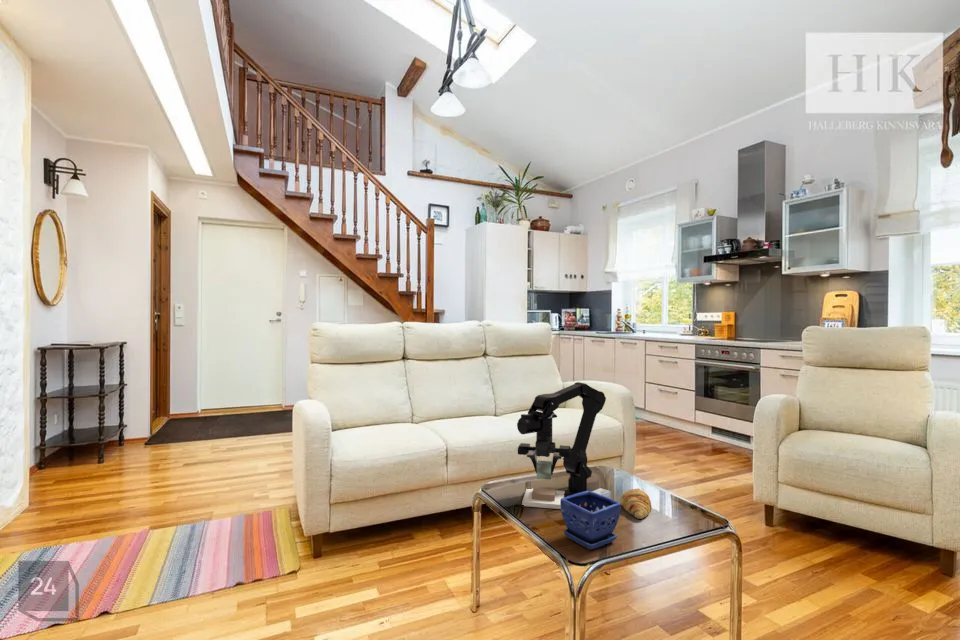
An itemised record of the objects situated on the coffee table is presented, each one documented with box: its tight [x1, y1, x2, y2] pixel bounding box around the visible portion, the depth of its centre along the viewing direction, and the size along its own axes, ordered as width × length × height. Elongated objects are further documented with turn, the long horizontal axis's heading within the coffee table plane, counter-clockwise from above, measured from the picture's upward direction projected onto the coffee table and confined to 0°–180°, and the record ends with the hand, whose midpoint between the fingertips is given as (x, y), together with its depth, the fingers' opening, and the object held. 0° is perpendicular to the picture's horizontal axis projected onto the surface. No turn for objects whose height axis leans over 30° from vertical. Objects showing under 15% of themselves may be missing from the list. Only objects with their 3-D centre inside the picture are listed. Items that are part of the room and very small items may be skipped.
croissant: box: [619, 488, 652, 520], centre depth 169 cm, size 21×10×8 cm, turn 170°
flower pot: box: [560, 490, 622, 550], centre depth 145 cm, size 13×13×12 cm
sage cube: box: [536, 460, 553, 480], centre depth 177 cm, size 5×5×5 cm
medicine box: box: [591, 487, 612, 512], centre depth 161 cm, size 8×4×9 cm, turn 134°
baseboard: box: [521, 485, 566, 510], centre depth 177 cm, size 14×14×4 cm
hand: (544, 473), depth 177 cm, fingers closed on sage cube, 5 cm apart
